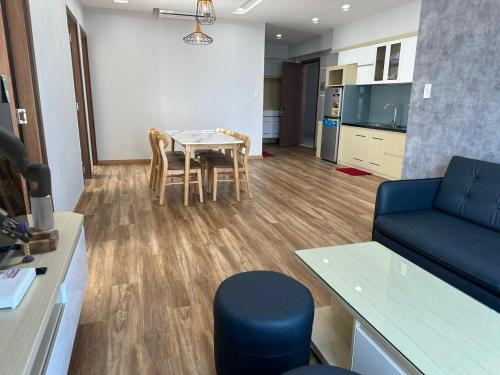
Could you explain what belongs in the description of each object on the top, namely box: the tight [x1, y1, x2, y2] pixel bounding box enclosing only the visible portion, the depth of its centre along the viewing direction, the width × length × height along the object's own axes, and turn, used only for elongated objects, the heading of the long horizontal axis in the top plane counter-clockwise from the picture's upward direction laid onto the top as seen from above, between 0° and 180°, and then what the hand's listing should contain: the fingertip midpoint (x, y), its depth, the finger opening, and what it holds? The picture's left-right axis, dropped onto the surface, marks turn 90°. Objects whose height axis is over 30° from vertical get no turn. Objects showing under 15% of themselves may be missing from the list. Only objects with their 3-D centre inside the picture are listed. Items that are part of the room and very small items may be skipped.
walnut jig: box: [20, 229, 60, 255], centre depth 158 cm, size 13×13×5 cm
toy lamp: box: [17, 220, 35, 263], centre depth 143 cm, size 5×5×17 cm
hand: (30, 239), depth 143 cm, fingers closed on toy lamp, 4 cm apart
